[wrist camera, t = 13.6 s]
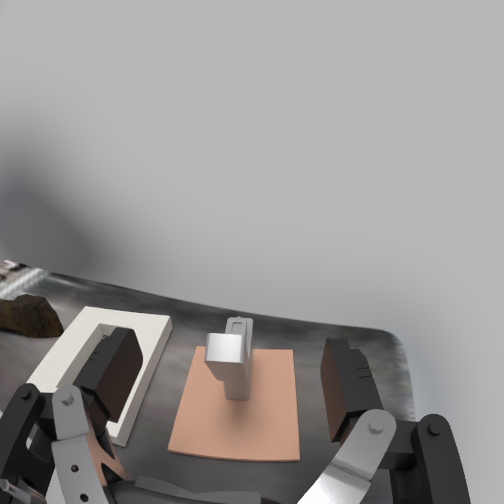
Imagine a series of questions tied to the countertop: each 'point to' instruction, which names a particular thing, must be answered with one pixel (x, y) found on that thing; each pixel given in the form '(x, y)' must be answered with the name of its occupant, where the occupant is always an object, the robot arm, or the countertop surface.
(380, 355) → the countertop surface
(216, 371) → the lighter
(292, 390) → the mat
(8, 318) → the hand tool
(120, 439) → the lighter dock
